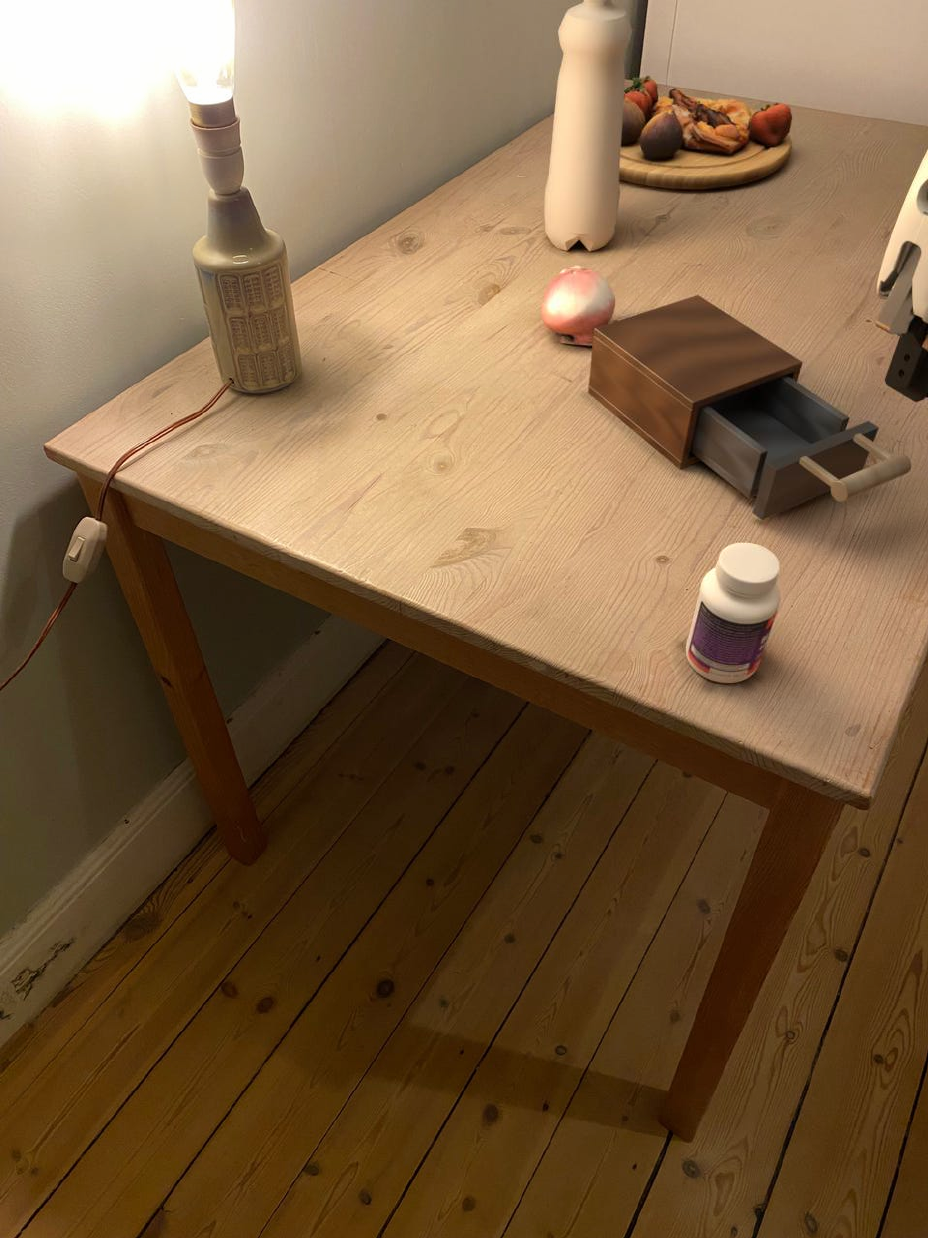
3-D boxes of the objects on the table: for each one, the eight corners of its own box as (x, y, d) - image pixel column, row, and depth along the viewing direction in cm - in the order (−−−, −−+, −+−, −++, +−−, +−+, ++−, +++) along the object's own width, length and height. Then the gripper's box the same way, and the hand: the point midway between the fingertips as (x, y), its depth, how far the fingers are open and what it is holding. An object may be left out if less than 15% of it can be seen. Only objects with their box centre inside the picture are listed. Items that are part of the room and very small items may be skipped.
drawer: (907, 511, 77) (934, 451, 73) (807, 558, 73) (829, 498, 69) (755, 403, 88) (770, 345, 84) (661, 438, 85) (671, 380, 80)
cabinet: (784, 427, 87) (803, 361, 82) (679, 469, 83) (693, 402, 78) (686, 357, 96) (698, 294, 91) (587, 392, 92) (594, 327, 87)
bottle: (614, 225, 118) (644, -60, 96) (615, 257, 112) (648, -39, 90) (543, 223, 119) (558, -60, 97) (541, 254, 112) (555, -40, 91)
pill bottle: (765, 686, 66) (799, 590, 59) (690, 685, 66) (715, 590, 59) (750, 630, 69) (781, 534, 62) (679, 630, 70) (702, 534, 62)
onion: (596, 312, 103) (602, 250, 97) (625, 346, 98) (633, 282, 92) (529, 324, 101) (532, 261, 96) (555, 359, 96) (560, 295, 91)
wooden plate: (817, 135, 138) (833, 74, 132) (743, 212, 120) (757, 145, 114) (625, 99, 150) (631, 41, 144) (531, 164, 132) (533, 101, 126)
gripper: (980, 154, 47) (872, 448, 60) (1159, 103, 52) (1024, 385, 65) (870, 113, 52) (792, 395, 65) (1044, 70, 57) (939, 339, 70)
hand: (908, 389), depth 65 cm, fingers closed
